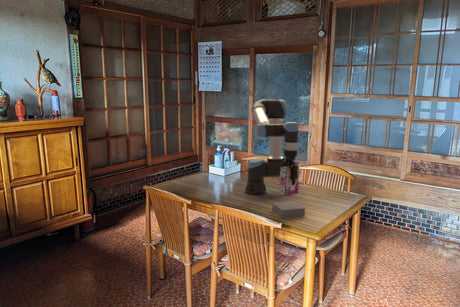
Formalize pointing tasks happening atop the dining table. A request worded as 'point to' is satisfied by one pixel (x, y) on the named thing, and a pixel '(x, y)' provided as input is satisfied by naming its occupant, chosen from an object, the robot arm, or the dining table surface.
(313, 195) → the dining table surface
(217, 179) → the dining table surface
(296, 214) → the block
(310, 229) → the dining table surface
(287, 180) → the candy bar box
